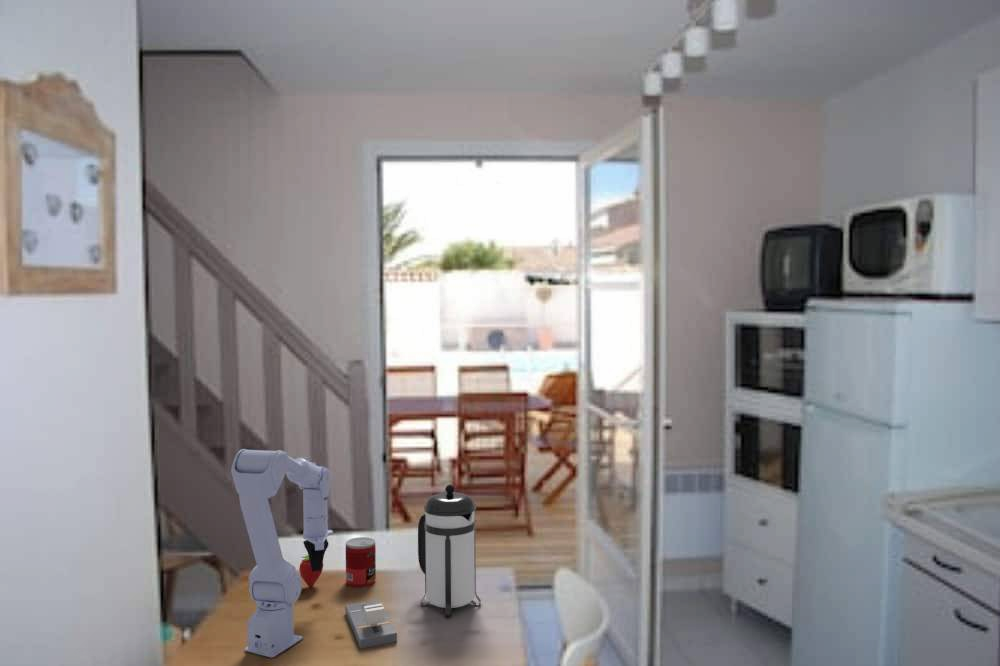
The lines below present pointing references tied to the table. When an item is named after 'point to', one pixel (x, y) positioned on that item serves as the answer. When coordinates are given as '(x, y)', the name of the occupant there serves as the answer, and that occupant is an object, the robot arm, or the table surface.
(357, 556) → the canned food
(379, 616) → the fader knob
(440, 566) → the coffee press
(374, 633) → the fader board
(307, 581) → the strawberry
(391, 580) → the table surface
